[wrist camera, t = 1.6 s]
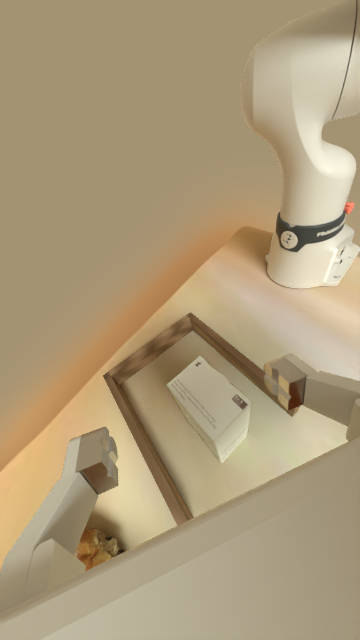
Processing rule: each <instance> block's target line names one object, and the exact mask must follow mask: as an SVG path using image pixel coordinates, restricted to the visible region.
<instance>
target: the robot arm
mask: <svg viewBox="0 0 360 640" xmlns="http://www.w3.org/2000/svg"><path fill="white" fill-rule="evenodd" d="M240 104H241V110H242V114H243V117H244V119H245V122H246V124H247V125H248V127H249V128H250V129H251V130H252V131H253V132H254V133H256V134H257V135H259V136H260V137H261V138H263V139H264V140H265V141H266V142H267V143H268V144H269V146H270V147H271V148H272V150H273V151H274V153H275V155H276V157H277V159H278V162H279V166H280V169H281V179H282V191H281V209H280V212H279V213H278V217H277V221H276V231H275V232H274V233H273V236H272V241H271V247H270V252H269V254H267V255H266V258H265V260H266V262H267V264H268V267H267V273H268V275H269V277H270V278H271V279H272V280H273V281H274V282H276V283H278V284H280V285H283V286H286V287H290V288H312V287H317V286H337V285H338V284H339V283H340V281H341V280H342V278H343V277H344V275H345V274H346V272H347V271H348V269H349V268H350V266H351V265H352V263H353V261H354V260H355V258H356V257H357V255H358V254H359V252H360V247H358V246H357V245H356V244H354V243H352V242H351V241H352V238H353V235H354V231H353V229H352V228H351V227H349V226H347V225H346V224H345V223H344V222H345V213H346V214H349V213H350V212H351V211H352V209H353V207H354V203H351V202H350V203H347V202H346V201H347V198H348V195H349V192H350V188H351V185H352V182H353V178H354V175H355V172H356V162H355V159H354V157H353V156H352V154H351V153H350V152H348V151H347V150H345V149H343V148H341V147H338V146H335V145H333V144H329V143H327V142H325V141H324V140H322V139H321V132H322V127H323V125H324V124H325V123H327V122H329V121H331V120H336V119H340V118H344V117H348V116H352V115H357V114H360V0H341V1H339V2H336V3H334V4H331V5H329V6H326V7H324V8H321V9H319V10H316V11H314V12H311V13H309V14H306V15H304V16H301V17H299V18H296V19H294V20H291V21H290V22H289V23H287V24H285V25H284V26H282V27H281V28H279V29H277V30H276V31H274V32H273V33H272V34H270V35H269V36H267V37H266V38H264V39H263V40H262V41H260V42H259V43H257V44H256V45H255V47H254V48H253V50H252V52H251V54H250V56H249V58H248V61H247V63H246V66H245V69H244V72H243V76H242V81H241V87H240ZM264 371H265V372H266V374H265V376H264V382H265V384H266V387H267V388H268V390H269V391H270V392H271V393H272V394H273V395H276V396H278V401H279V402H280V403H281V404H282V405H283V406H284V407H285V408H286V409H287V410H288V411H289V410H291V409H294V408H296V407H299V406H301V405H303V406H305V407H308V408H310V409H312V410H314V411H316V412H318V413H320V414H322V415H325V416H327V417H329V418H331V419H333V420H335V421H337V422H340V423H342V424H344V425H346V426H348V429H347V432H346V439H347V440H348V441H349V442H347V443H345V444H343V445H341V446H339V447H337V448H335V449H333V450H331V451H329V452H327V453H325V454H323V455H321V456H319V457H317V458H314V459H312V460H310V461H308V462H306V463H304V464H302V465H300V466H298V467H296V468H294V469H292V470H290V471H288V472H286V473H284V474H282V475H280V476H278V477H276V478H274V479H272V480H270V481H268V482H266V483H264V484H262V485H260V486H258V487H256V488H254V489H252V490H249V491H247V492H245V493H243V494H241V495H239V496H237V497H235V498H233V499H231V500H229V501H227V502H225V503H223V504H221V505H219V506H217V507H215V508H213V509H211V510H209V511H207V512H205V513H203V514H201V515H199V516H197V517H195V518H193V519H191V520H189V521H187V522H185V523H182V524H180V525H178V526H176V527H174V528H172V529H170V530H168V531H166V532H164V533H162V534H160V535H158V536H156V537H154V538H152V539H150V540H148V541H146V542H144V543H142V544H140V545H138V546H136V547H134V548H132V549H130V550H128V551H126V552H124V553H122V554H120V555H118V556H116V557H114V558H112V559H109V560H107V561H105V562H103V563H101V564H99V565H97V566H95V567H93V568H91V569H89V570H87V571H86V565H85V564H84V563H83V562H82V561H80V560H79V559H78V558H76V557H75V556H74V553H75V550H76V548H77V546H78V543H79V541H80V539H81V536H82V534H83V531H84V529H85V527H86V524H87V522H88V520H89V517H90V515H91V513H92V510H93V508H94V505H95V503H96V501H97V498H98V495H99V494H101V493H103V492H105V491H107V490H109V489H112V488H114V487H116V486H118V469H117V467H116V465H115V463H116V461H117V459H118V458H117V448H116V444H115V441H114V439H113V437H110V436H109V431H108V429H107V428H106V427H103V428H100V429H97V430H94V431H92V432H89V433H86V434H83V435H81V436H78V437H76V438H73V439H71V440H70V441H69V443H68V447H67V452H66V457H65V462H64V467H63V472H62V477H61V479H60V480H58V481H57V482H56V484H55V485H54V487H53V488H52V490H51V491H50V492H49V494H48V495H47V497H46V498H45V500H44V501H43V503H42V504H41V506H40V507H39V509H38V510H37V512H36V513H35V515H34V516H33V517H32V519H31V520H30V522H29V523H28V525H27V526H26V528H25V529H24V531H23V532H22V534H21V535H20V537H19V538H18V540H17V541H16V542H15V544H14V545H13V547H12V548H11V550H10V551H9V553H8V554H7V556H6V557H5V559H4V562H3V565H2V568H1V572H0V640H360V381H357V380H353V379H349V378H345V377H341V376H337V375H333V374H330V373H326V372H322V371H320V372H317V371H316V370H314V369H313V368H312V367H310V366H309V365H307V364H306V363H305V362H303V361H302V360H300V359H299V358H298V357H296V356H295V355H293V354H288V355H286V356H283V357H281V358H278V359H276V360H273V361H271V362H268V363H266V364H265V365H264Z"/></svg>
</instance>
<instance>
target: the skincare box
mask: <svg viewBox="0 0 360 640" xmlns="http://www.w3.org/2000/svg"><path fill="white" fill-rule="evenodd" d="M167 387H168V388H169V390H170V391H171V393H172V395H173V397H174V398H175V400H176V402H177V404H178V405H179V407H180V409H181V411H182V412H183V414H184V416H185V418H186V419H187V421H188V422H189V424H190V425H191V426H192V427H193V428H194V429H195V430H196V431H197V433H198V434H199V435H200V436H201V437H202V439H203V440H204V441H205V442H206V444H207V445H208V446H209V447H210V449H211V450H212V451H213V453H214V454H215V455H216V457H217V458H218V460H219V461H220V462H221V463H223V462H224V461H225V460H226V458H227V457H228V456H229V455H230V454H231V453H232V452H233V451H234V450H235V448H236V447H237V446H238V445H239V444H240V443H241V442H242V441H243V440H244V438H245V437H246V436H247V432H248V425H249V418H250V411H251V404H252V401H251V400H249V399H248V398H247V397H246V396H245V395H244V394H242V393H241V392H240V391H239V390H238V389H237V388H235V387H234V386H233V385H232V384H231V383H230V382H229V381H228V379H227V378H226V377H225V376H224V375H223V374H222V373H220V372H218V371H216V370H215V369H214V368H213V367H212V366H211V365H210V364H209V363H208V362H207V361H206V360H205V359H204V358H203V357H202V356H200V355H199V356H198V357H197V358H196V359H195V360H194V361H193V362H191V363H190V364H189V365H188V366H187V367H186V368H185V369H184V370H183V371H181V372H180V373H179V374H178V375H177V376H176V377H175V378H173V379H172V380H171V381H170V382H169V383H168V384H167Z"/></svg>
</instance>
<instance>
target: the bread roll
mask: <svg viewBox="0 0 360 640" xmlns="http://www.w3.org/2000/svg"><path fill="white" fill-rule="evenodd" d="M124 552H125V551H124V550H122V549H120V547H119V546H118V542H117V539H115V538H114V537H108V536H107V535H106V534H105V533H104V532H102V531H100V530H97V529H96V530H95V528H94V529H89V530H84V531H83V534H82V536H81V539H80V541H79V543H78V546H77V548H76V550H75V553H74V556H75V557H76V558H78V559H79V560H80V561H82V562H83V563H84V564H85V565H86V571H87V570H89V569H91V568H93V567H95V566H97V565H99V564H101V563H103V562H105V561H107V560H109V559H112V558H114V557H116V556H118V555H120V554H122V553H124Z"/></svg>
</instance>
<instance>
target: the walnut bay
mask: <svg viewBox="0 0 360 640" xmlns="http://www.w3.org/2000/svg"><path fill="white" fill-rule="evenodd" d="M192 330H194V331H195V332H196V333H198V334H199V335H200V336H201V337H202V338H203V339H204V340H205V341H207V342H208V343H209V344H210V345H211V346H212V347H213V348H215V349H216V350H217V351H218V352H219V353H220V354H221V355H222V356H224V357H225V358H226V359H227V360H228V361H229V362H230V363H232V364H233V365H234V366H235V367H236V368H237V369H238V370H240V371H241V372H242V373H243V374H244V375H245V376H246V377H247V378H249V379H250V380H251V381H252V382H253V383H254V384H255V385H257V386H258V387H259V388H260V389H261V390H262V391H263V392H264V393H266V394H267V395H268V396H269V397H270V398H271V399H272V400H274V401H275V402H276V403H277V404H278V405H279V406H280V407H281V408H283V409H284V410H285V411H286V412H287V413H288V414H289V415H291V416H293V415H294V414H295V413H296V412H297V411H298V409H299V407H300V406H299V407H296V408H294V409H291V410H289V411H288V410H287V409H286V408H285V407H284V406H283V405H282V404H281V403H280V402H279V401H278V396H276V395H273V394H272V393H271V392H270V391H269V390H268V388H267V387H266V384H265V382H264V376H265V374H266V373H265V372H264V371H263V370H261V369H260V368H259V367H258V366H256V365H255V364H254V363H253V362H251V361H250V360H249V359H248V358H246V357H245V356H244V355H243V354H241V353H240V352H239V351H238V350H237V349H235V348H234V347H233V346H232V345H230V344H229V343H228V342H227V341H225V340H224V339H223V338H222V337H220V336H219V335H218V334H217V333H215V332H214V331H213V330H212V329H210V328H209V327H208V326H207V325H206V324H204V323H203V322H202V321H201V320H199V319H198V318H197V317H196V316H194V315H193V314H192V313H191V312H190V313H189V314H188V315H186V316H185V317H183V318H182V319H181V320H179V321H178V322H177V323H175V324H174V325H172V326H171V327H170V328H168V329H167V330H165V331H164V332H163V333H161V334H160V335H159V336H157V337H156V338H154V339H153V340H152V341H150V342H149V343H147V344H146V345H145V346H143V347H142V348H141V349H139V350H138V351H136V352H135V353H134V354H132V355H131V356H129V357H128V358H127V359H125V360H124V361H123V362H121V363H120V364H118V365H117V366H116V367H114V368H113V369H111V370H110V371H109V372H107V373H106V374H105V375H103V377H104V379H105V381H106V383H107V385H108V387H109V389H110V391H111V393H112V395H113V397H114V399H115V401H116V403H117V405H118V407H119V409H120V411H121V413H122V415H123V417H124V419H125V421H126V423H127V425H128V427H129V429H130V431H131V433H132V435H133V437H134V439H135V441H136V443H137V445H138V447H139V449H140V451H141V453H142V455H143V457H144V459H145V461H146V463H147V465H148V467H149V469H150V471H151V473H152V475H153V477H154V479H155V481H156V483H157V485H158V487H159V489H160V491H161V493H162V495H163V497H164V499H165V501H166V503H167V505H168V507H169V509H170V511H171V513H172V515H173V517H174V519H175V521H176V523H177V525H180V524H182V523H185V522H187V521H189V520H191V519H193V517H192V515H191V513H190V511H189V510H188V508H187V506H186V504H185V502H184V500H183V499H182V497H181V495H180V493H179V491H178V490H177V488H176V486H175V484H174V482H173V480H172V479H171V477H170V475H169V473H168V471H167V470H166V468H165V466H164V464H163V462H162V461H161V459H160V457H159V455H158V453H157V451H156V450H155V448H154V446H153V444H152V442H151V441H150V439H149V437H148V435H147V433H146V431H145V430H144V428H143V426H142V424H141V422H140V421H139V419H138V417H137V415H136V413H135V411H134V410H133V408H132V406H131V404H130V402H129V401H128V399H127V397H126V395H125V393H124V391H123V390H122V388H121V386H120V384H122V383H123V382H124V381H126V380H127V379H128V378H130V377H131V376H132V375H134V374H135V373H136V372H137V371H139V370H140V369H141V368H143V367H144V366H145V365H147V364H148V363H149V362H151V361H152V360H153V359H155V358H156V357H157V356H159V355H160V354H161V353H163V352H164V351H165V350H167V349H168V348H169V347H171V346H172V345H173V344H175V343H176V342H177V341H179V340H180V339H181V338H183V337H184V336H185V335H187V334H188V333H189V332H191V331H192Z"/></svg>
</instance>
